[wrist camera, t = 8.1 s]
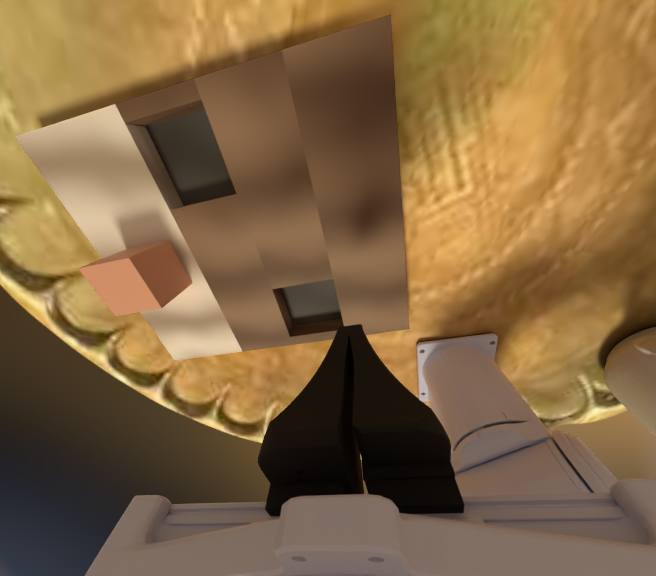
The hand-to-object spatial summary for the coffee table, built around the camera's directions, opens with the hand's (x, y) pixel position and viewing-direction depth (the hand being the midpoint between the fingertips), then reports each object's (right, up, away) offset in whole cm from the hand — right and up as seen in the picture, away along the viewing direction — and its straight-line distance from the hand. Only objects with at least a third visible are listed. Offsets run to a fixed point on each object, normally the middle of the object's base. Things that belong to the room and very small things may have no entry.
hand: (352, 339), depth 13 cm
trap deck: (-8, +7, +7) cm, 13 cm away
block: (-16, +5, +6) cm, 18 cm away
